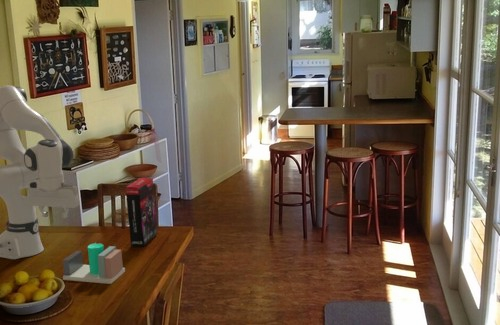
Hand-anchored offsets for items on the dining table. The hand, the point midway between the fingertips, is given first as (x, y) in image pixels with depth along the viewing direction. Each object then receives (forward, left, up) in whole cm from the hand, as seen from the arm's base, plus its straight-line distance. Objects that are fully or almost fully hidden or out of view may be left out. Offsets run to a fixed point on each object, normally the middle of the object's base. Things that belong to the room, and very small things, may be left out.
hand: (55, 217), depth 231 cm
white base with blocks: (+15, 0, -23) cm, 27 cm away
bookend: (+6, 0, -21) cm, 22 cm away
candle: (+16, 0, -21) cm, 27 cm away
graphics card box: (+18, +40, -23) cm, 49 cm away
